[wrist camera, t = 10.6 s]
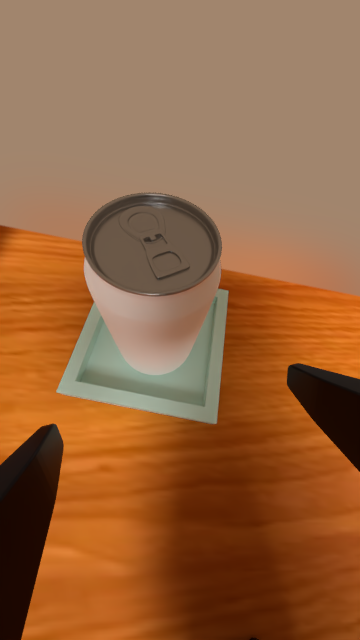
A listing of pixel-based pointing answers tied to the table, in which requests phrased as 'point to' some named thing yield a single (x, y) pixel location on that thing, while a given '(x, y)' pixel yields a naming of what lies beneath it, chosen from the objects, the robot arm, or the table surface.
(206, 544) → the table surface
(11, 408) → the table surface
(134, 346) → the can
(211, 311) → the tray
